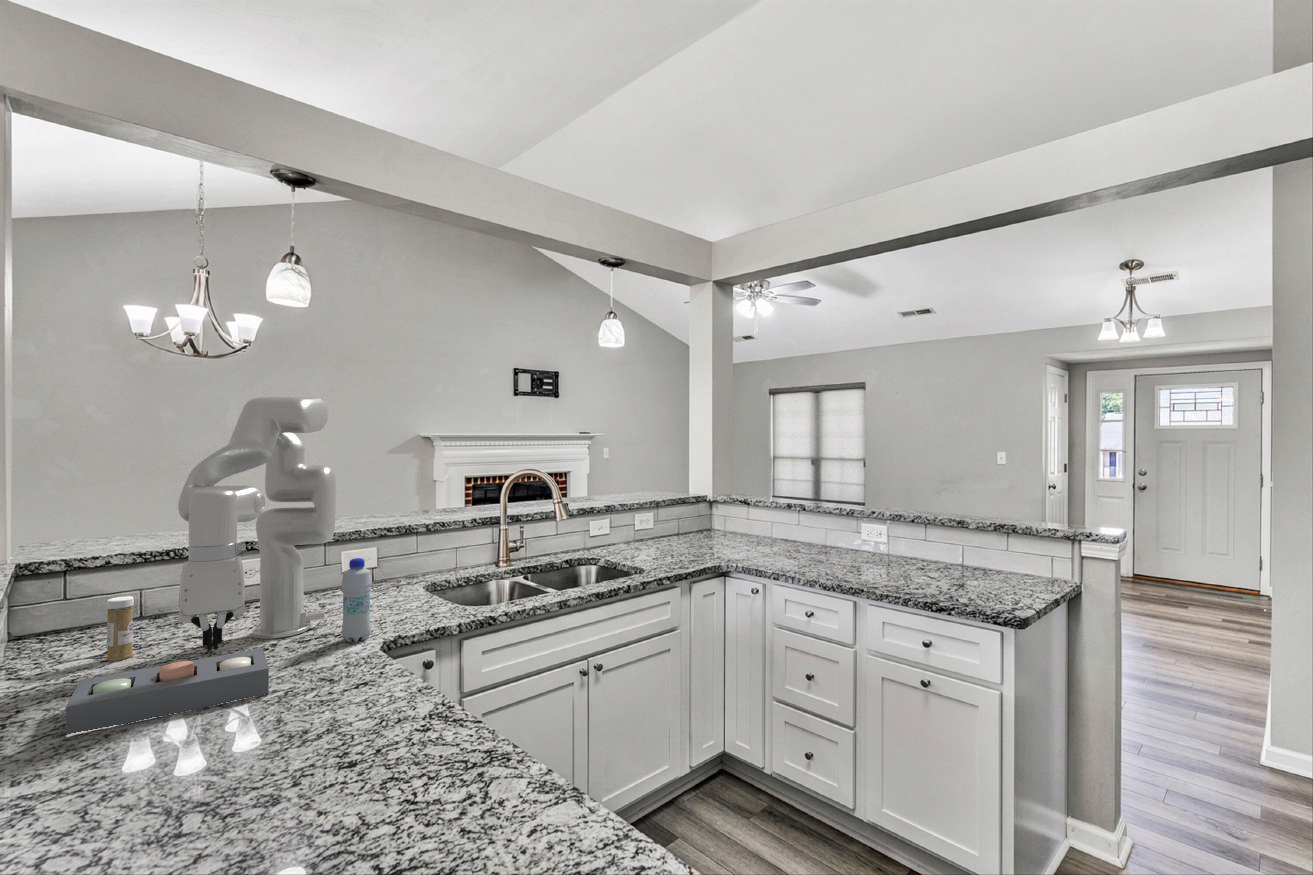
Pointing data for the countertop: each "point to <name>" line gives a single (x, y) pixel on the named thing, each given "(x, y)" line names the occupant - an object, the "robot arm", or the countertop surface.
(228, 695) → the button box
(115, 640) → the sprinkles bottle
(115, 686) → the sage button
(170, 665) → the terracotta button
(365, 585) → the bottle
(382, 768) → the countertop surface
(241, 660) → the cream button
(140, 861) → the countertop surface
